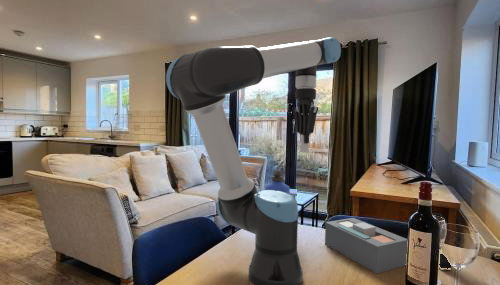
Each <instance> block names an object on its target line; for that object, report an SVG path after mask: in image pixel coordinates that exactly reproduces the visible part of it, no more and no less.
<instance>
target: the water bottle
mask: <svg viewBox="0 0 500 285" xmlns="http://www.w3.org/2000/svg"><path fill="white" fill-rule="evenodd" d="M283 181H284V176H283V173H282V172H281V171H280V170H275V171H274V172H273V173H272V176H271V182H270V183H268V184H266V185H265V186H264V190H274V191H281V192H285V193H287V194H290V188H291V187H290V186H289V185H288V184H285V183H284V182H283Z"/></svg>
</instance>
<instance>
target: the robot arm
mask: <svg viewBox="0 0 500 285" xmlns="http://www.w3.org/2000/svg"><path fill="white" fill-rule="evenodd" d="M341 53H342V48H341V43H340V41H339V39H338V38H336V37H333V36H331V37H325V38H322V39H316V40H315V39H314V40H309V41H308V40H307V41H302V42H293V43H286V44H279V45H273V46H267V47H266V46H264V47H259V48H258V47H256V46H254V45H252V44H251V45H240V46H236V45H235V46H211V47H207V48H205V49H201V50H198V51H193V52H191V53H187V54H183V55H180V56H179V57H177V58H175V59H174V60H173V61H172V62H171V63H170V64H169V66H168V68H167V70H166V76H165V77H166V78H165V81H166V86H167V89H168V90H169V92H170V94H171V95H172V96H173V97H174V98H176V99H178V100H180V101H181V104H182V107H183V108H184V111H185V112H186V113H188V114H190V115H192V116H193V118H194V119H193V120H194V122H195V125H196V126H197V130H198V133H199V135H200V138H201V140H202V143H203V145H204V148H205V151H206V153H207V156H208V158H209V161H210V164H211V166H212V169H213V172H214V174H215V176H216V179H217V182H218V185H219V188H218V191H217V202H216V211H217V214H218V216H219V218H220V219H221V220H222V221H224V222H225V223H226V224H228V225H230V226H233V227H236V228H238V229H241V230H244V231H247V232H249V233H252V234H254V235H255V241H254V243H255V244H254V245H255V246H254V251H253V254H252V258H251V261H250V264H249V266H248V279H249V281H251V282H250V283H252V284H254V285H301V284H302V282H303V277H304V275H303V274H304V270H303V267H302V265H301V261H300V258H299V254H298V226H299V225H298V224H299V216H300V215H299V208H298V201H297V199H296V198H295V197H294V196H293V195H292V194H290V193H289V194H287V193H285V192H281V191H274V190H265V189H264V190H260V191H258V190H257V187H256V183H255V181H254V180H253V179H252V178H249V177H248V175H247V174H246V170H245V166H244V164H243V161H242V158H241V156H240V152H239V150H238V146H237V142H236V141H235V138H234V135H233V132H232V130H231V126H230V123H229V120H228V118H227V114H226V112H225V108H224V106H223V105H224V101H225V100H226V96H227V95H228V94H232V93H235V92H237V91H239V90H240V91H241V90H243V89H246V88H248V87H252V86H255V85H258V84H260V83H261V82H262V80H263V79H265V78H266V79H267V78H271V77H274V76H279V75H283V74H287V73H290V72H295V92H294V93H295V94H294V95H295V100H297V102H296V107H293V109H292V111H293V114H294V121H295V130H296V133H297V134H299V148H300V149H299V153H309V148H310V146H309V144H310V135H311V134H314V130H315V126H316V120H317V114H318V111H319V108H320V107H318V106H316V105H315V101H314V100H316V98H317V90H316V88H317V66H320V65H325V64H332V63H335V62H337V61H338V60H339V59H340V58H341V55H342V54H341Z"/></svg>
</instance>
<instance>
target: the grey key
mask: <svg viewBox="0 0 500 285" xmlns="http://www.w3.org/2000/svg"><path fill="white" fill-rule="evenodd" d="M367 223H368V222H366V221H363V222H362V223H357V224H353V230H355V231H358V232H360V233H362V234H364V235H367V236H369V237H375V230H376V227H377V226H375V225H373V224H370V223H368V224H367ZM372 225H373V226H372Z"/></svg>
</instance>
